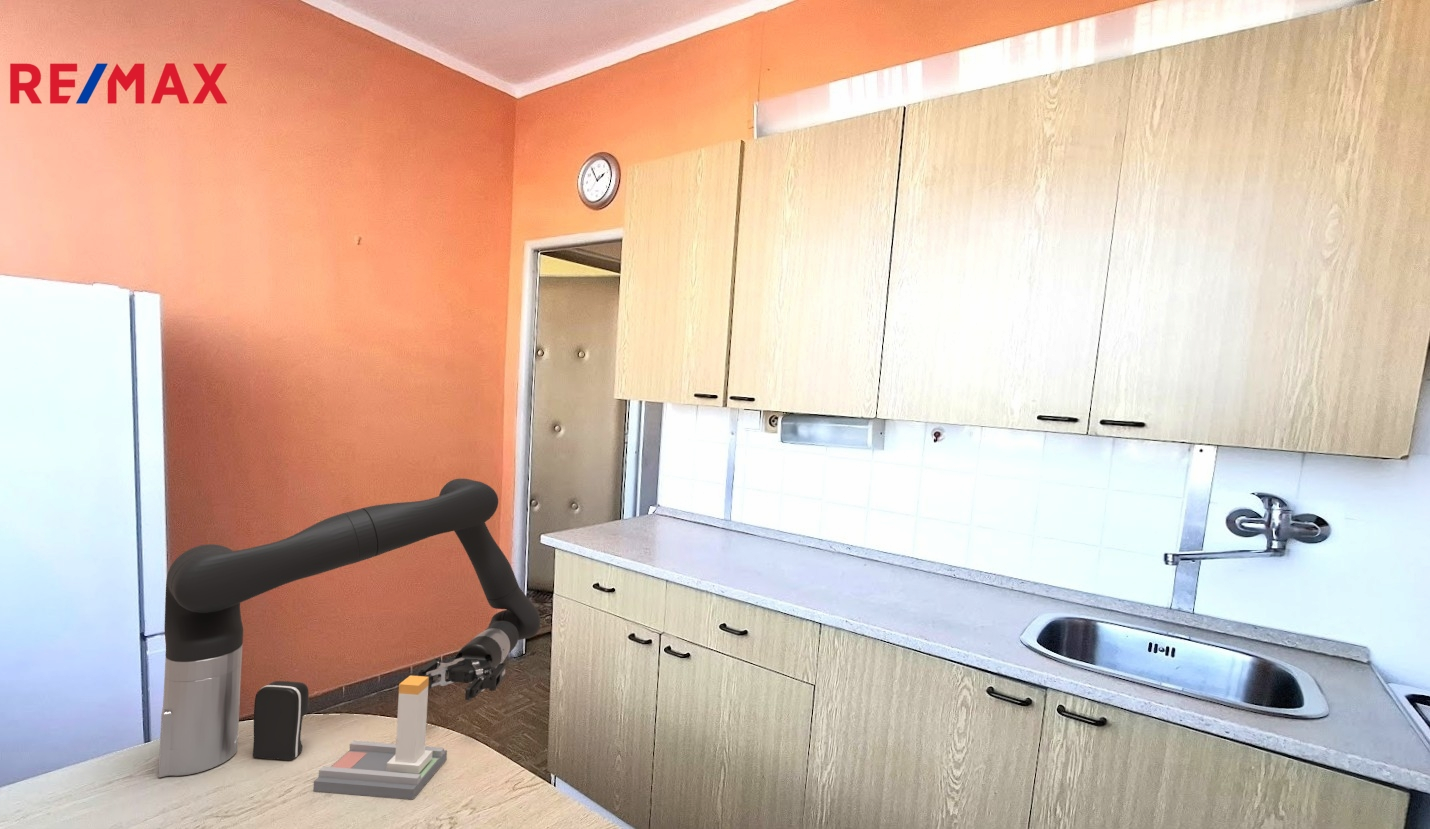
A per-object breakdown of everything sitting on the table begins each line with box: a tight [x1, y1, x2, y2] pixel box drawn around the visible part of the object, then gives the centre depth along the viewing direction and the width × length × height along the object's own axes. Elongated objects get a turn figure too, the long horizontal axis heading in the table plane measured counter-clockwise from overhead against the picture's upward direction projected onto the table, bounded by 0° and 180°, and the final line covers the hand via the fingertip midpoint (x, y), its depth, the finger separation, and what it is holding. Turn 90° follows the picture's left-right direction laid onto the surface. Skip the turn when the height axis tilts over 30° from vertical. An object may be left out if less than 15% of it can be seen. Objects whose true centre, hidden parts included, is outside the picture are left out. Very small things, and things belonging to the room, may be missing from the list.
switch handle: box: [386, 675, 433, 774], centre depth 92 cm, size 5×4×13 cm
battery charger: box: [252, 680, 310, 761], centre depth 96 cm, size 7×4×11 cm, turn 89°
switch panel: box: [312, 740, 448, 800], centre depth 92 cm, size 15×10×2 cm, turn 88°
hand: (443, 693), depth 101 cm, fingers open, 8 cm apart
